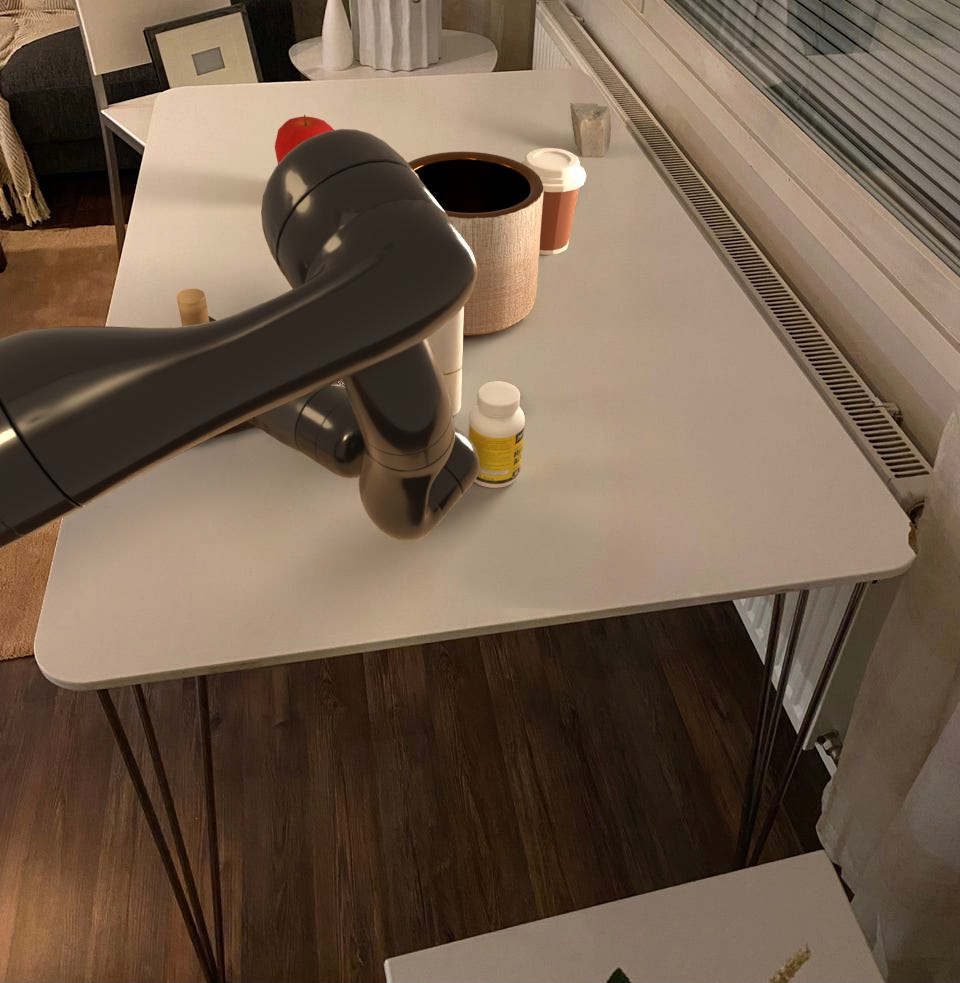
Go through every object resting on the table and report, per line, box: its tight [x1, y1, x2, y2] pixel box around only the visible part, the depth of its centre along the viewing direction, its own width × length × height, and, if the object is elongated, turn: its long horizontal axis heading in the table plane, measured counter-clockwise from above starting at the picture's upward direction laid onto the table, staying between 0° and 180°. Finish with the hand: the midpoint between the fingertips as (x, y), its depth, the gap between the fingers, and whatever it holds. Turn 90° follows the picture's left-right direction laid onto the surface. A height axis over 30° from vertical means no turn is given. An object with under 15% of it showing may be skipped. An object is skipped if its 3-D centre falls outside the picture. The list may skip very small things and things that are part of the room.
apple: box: [274, 114, 335, 165], centre depth 136 cm, size 9×9×12 cm
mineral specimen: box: [569, 102, 612, 158], centre depth 153 cm, size 7×9×8 cm
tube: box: [427, 306, 464, 417], centre depth 100 cm, size 4×4×15 cm
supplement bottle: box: [467, 380, 526, 489], centre depth 94 cm, size 5×5×10 cm
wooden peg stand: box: [176, 288, 210, 327], centre depth 96 cm, size 5×5×13 cm
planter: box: [407, 151, 544, 336], centre depth 115 cm, size 18×18×16 cm
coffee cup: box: [521, 147, 587, 256], centre depth 129 cm, size 9×9×12 cm
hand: (176, 330), depth 97 cm, fingers open, 3 cm apart
